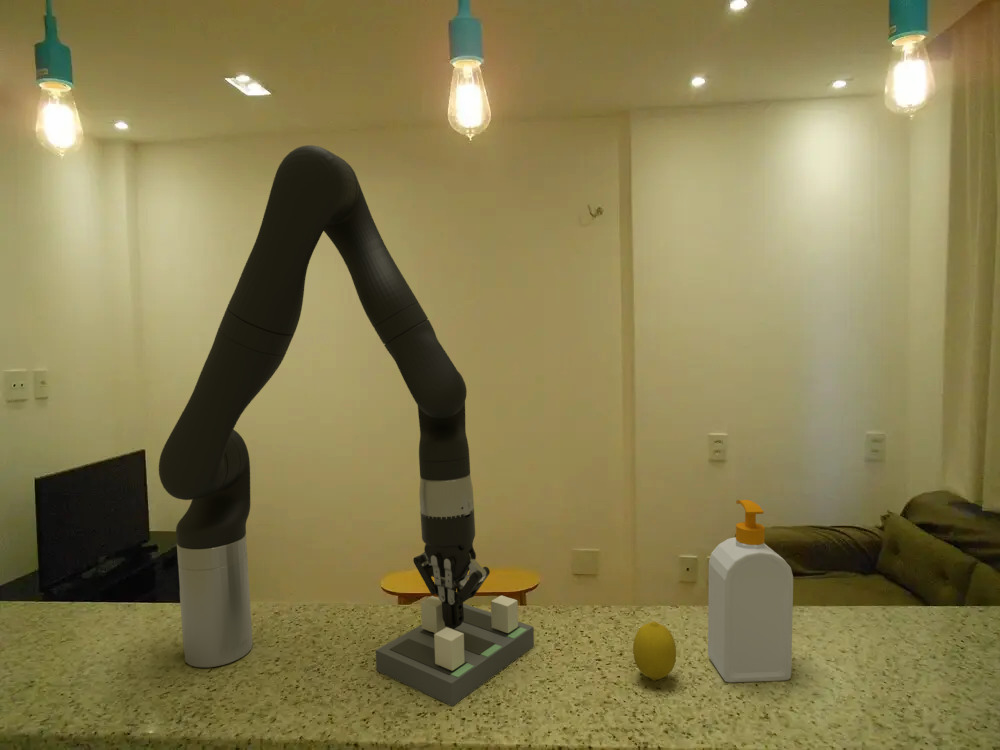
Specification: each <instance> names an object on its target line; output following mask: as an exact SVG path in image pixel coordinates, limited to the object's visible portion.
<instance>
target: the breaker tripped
mask: <svg viewBox="0 0 1000 750" xmlns="http://www.w3.org/2000/svg"><path fill="white" fill-rule="evenodd" d="M420 613H421V615H420V618H421V621H420V622H421V625H422V628H423V629H425V630H428V631H431V632H433V633H437V632H439V631H441V630H443V629H444V628H446V626H445V623H444V621H443V616H442V602H441V601H440V599H439V597H436V596H434V595H431V596H429V597H427V598H425V599H424V600H422V601H420ZM447 628H448V627H447Z"/></svg>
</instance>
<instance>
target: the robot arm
mask: <svg viewBox="0 0 1000 750" xmlns="http://www.w3.org/2000/svg"><path fill="white" fill-rule="evenodd" d="M275 172H276V173H275V176H274V178H273V182H272V184H271V189H270V191H269V195H268V198H267V202H266V203H267V204H266V207H265V210H264V214H263V217H262V221H261V223H260V224H261V225H260V227H259V230H258V233H257V237H256V240H255V242H254V244H253V247H252V249H251V251H250V253H249V255H248V258H247V261H246V263H245V265H244V267H243V269H242V272H241V273H240V276H239V279H238V282H237V284H236V287H235V288H234V291H233V294H232V296H231V298H230V299H229V302H228V303H227V306H226V309H225V311H224V314H223V317H222V319H221V322H220V323H219V326H218V330H217V332H216V334H215V337H214V340H213V343H212V346H211V348H210V349H209V352H208V354H207V356H206V359H205V362H204V364H203V367H202V369H201V371H200V373H199V375H198V379H197V381H196V384H195V386H194V388H193V391H192V393H191V395H190V397H189V399H188V401H187V403H186V405H185V407H184V410H182V413H181V414H180V416H179V418H178V420H177V421H176V423H175V425H174V427H173V428H172V430H171V432H170V434H169V436H168V438H167V439H166V441H165V443H164V445H163V448H162V450H161V453H160V457H159V459H158V476H159V480H160V483H161V485H162V487H163V489H164V490H165V491H166V492H167V494H169V495H170V496H171V497H173V498H175V499H177V500H182V501H190V500H191V502H190V505H189V507H188V509H187V510H186V511H185V513H184V514H183V516H182V517H181V519H179V521H178V523H177V524H176V527H175V528H176V529H175V539H176V552H177V565H178V581H179V601H180V617H181V619H180V620H181V632H182V644H183V652H184V653H183V654H184V661H185V663H186V664H188V665H189V666H192V667H194V668H195V667H196V668H213V667H220V666H224V665H228V664H231V663H233V662H235V661H237V660H239V659H241V658H243V657H244V656H247V654H248V653H249V652H250V651H251V650H252V648H253V629H252V628H253V627H252V611H251V593H250V579H249V578H250V577H249V563H248V562H249V561H248V546H247V545H248V544H247V527H246V525H247V521H248V517H249V515H250V510H251V462H250V460H251V459H250V454H249V451H248V446H247V444H246V442H245V440H244V439H243V437H242V436H241V434H240V433H239V432H237V430H235V427H236V425H237V423H238V421H239V420H240V417H241V415H242V414H243V412H245V410H246V409H247V408H248V406H249V405H250V404H251V403H252V401H253V400H254V399H255V397H256V396H258V394H259V393H260V391H262V389H264V387H265V386H266V384H268V382H269V381H270V380H271V378H272V377H273V376H274V374H275V373H276V372H277V371H278V368H279V367H280V365H281V364H282V362H283V360H284V359H285V356H286V354H287V352H288V350H289V347H290V344H291V342H292V341H293V338H294V335H295V333H296V330H297V327H298V324H299V322H300V318H301V314H302V310H303V309H302V308H303V304H304V295H305V286H306V285H305V284H306V277H307V272H308V269H309V268H308V267H309V264H310V260H311V258H312V255H313V253H314V251H315V249H316V247H317V246H318V243H319V240H320V238H321V237H322V235H323V233H324V234H325V235H326V236H327V237H328V238H329V240H330V241H331V242H332V244H333V245H334V247H335V248H336V250H337V251H338V253H339V254H340V257H341V258H342V260H343V262H344V264H345V266H346V268H347V270H348V272H349V274H350V277H351V280H352V283H353V285H354V288H355V291H356V294H357V297H358V300H359V302H360V304H361V306H362V308H363V310H364V313H365V314H366V316H367V318H368V320H369V322H370V324H371V326H372V327H373V328H374V331H375V332H376V334H377V335H378V337H379V339H380V341H381V343H382V344H383V345H384V347H385V349H386V351H387V352H388V353H389V355H390V356H391V357H392V358H393V360H394V362H395V364H396V366H397V368H398V371H399V372H400V375H401V376H402V379H403V381H404V384H405V385H406V387H407V389H408V391H409V393H410V394H411V397H412V398H413V400H414V402H415V403H416V405H417V415H418V423H419V434H420V435H419V444H418V463H419V479H420V481H419V492H418V493H419V495H418V496H419V507H420V508H419V509H420V511H419V513H420V528H421V539H422V542H423V543H424V549H423V550H424V552H422V553H421V554H419V555H417V556H414V558H413V564H414V565H415V568H416V569H417V571H418V573H419V575H420V577H421V579H422V580H423V582H424V584H425V585H426V587H427V589H428V591H429V593H430V594H431V596H434V595H436V596H438V598H439V599H440V601H441V602H442V616H443V621H444V623H445V626H446V627H449V628H452V629H455V628H457V627H458V626H460V625H461V624H462V622H463V620H464V611H463V603H465V602H466V601H468V600H469V599H472V598H474V597H475V595H476V594H477V593H478V592H479V589H480V588H481V586H482V585H483V584H484V582H485V581H486V579H487V578H488V576H490V573H491V571H490V569H489V567H488V566H483V567H482V566H481V565H480V564H479V562H478V560H476V559H477V554H476V552H475V548H474V545H473V544H474V540H475V537H476V524H475V523H476V522H475V521H476V519H475V507H474V506H475V503H474V501H475V500H474V489H473V483H472V477H471V462H470V448H469V442H468V438H467V437H468V436H467V433H466V398H467V386H466V382H465V379H464V378H463V376H462V375H461V373H460V372H459V371H458V369H457V367H456V366H455V365H454V362H452V359H450V358H451V357H449V355H448V353H447V352H446V350H445V349H444V347H443V345H442V344H441V343H440V341H439V339H438V337H437V335H436V332H435V330H434V327H433V325H432V322H431V321H430V320H429V318H428V316H427V314H426V313H425V311H424V309H423V308H422V306H421V304H420V302H419V300H418V298H417V297H416V295H415V294H414V292H413V291H412V289H411V287H410V285H409V284H408V282H407V281H406V279H405V277H404V275H403V274H402V272H401V270H400V269H399V267H398V266H397V263H396V262H395V261H394V259H393V257H392V255H391V253H390V251H389V249H388V248H387V246H386V243H385V242H384V240H383V238H382V236H381V234H380V232H379V230H378V228H377V225H376V223H375V221H374V219H373V216H372V214H371V211H370V208H369V206H368V203H367V200H366V198H365V195H364V193H363V190H362V187H361V184H360V183H359V179H358V176H357V174H356V172H355V171H354V169H353V167H352V166H351V165H350V164H349V163H348V162H347V161H346V160H345V159H343V158H342V157H340V156H339V155H336V154H335V153H333V152H331V151H330V150H328V149H326V148H324V147H322V146H319V145H312V144H311V145H310V144H309V145H302V146H299V147H296V148H294V149H293V150H292V151H290V152H289V153H288V154H287V155H285V157H283V158H282V161H281V162H280V164H279V165H278V168H277V170H276V171H275ZM432 577H433V578H432Z"/></svg>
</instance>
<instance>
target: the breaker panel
mask: <svg viewBox="0 0 1000 750" xmlns="http://www.w3.org/2000/svg"><path fill="white" fill-rule="evenodd" d="M463 611H464V620H463V622H462V624H461V625H460V626H458V627H457V628H455V629H453V630H456V631H458V632H461V633H464V663H463V664H462V665H460V666H459V667H457V668H456V669H454V670H453V671H451V670H449V669H447V668H444V667H442V666H440V665H437V664H435V643H434V634H436V633H433V632H431V631H428V630H425V629H423V628H422V624H420V625H419V626H417V627H415V628H413V629H412V630H409V631H407V632H406V633H404V634H402V635H401V636H398V637H397V638H395V639H392V640H391V641H390V642H388V643H386V644H384V645H381V647H378V648H377V649H375V667H376V671H377V672H378V673H380V672H381V673H380V674H382V675H384V676H386V675H387V676H386V677H389V678H391V679H393V678H394V679H393V680H395V679H396V680H395V681H397V680H398V681H397V682H399V681H400V682H399V683H401V684H404V685H405V686H407V687H410V688H413V689H414V690H417V691H418V692H421V693H423V694H425V695H427V696H430V697H432V698H434V699H436V700H439V701H440V702H443V703H444V704H446V705H449V706H451V707H453V706H455V705H456V704H457V703H460V702H461V700H463V699H464V698H465V697H467V696H468V695H470V694H472V692H474V691H476V690H477V689H478V688H479V687H480V686H482V685H483V684H484V683H486V682H488V681H489V680H490V679H492V678H493V677H494V676H495V675H497V674H498V673H500V672H501V671H502V670H503V669H505V668H506V667H508V666H509V665H511V664H512V663H513V662H515V661H516V660H517V659H519V658H521V656H523V655H524V654H525V653H527V652H528V651H530V650H531V649H532V648H534V647H535V638H534V637H535V635H534V631H535V630H534V629H535V628H534V626H532V625H529V624H527V623H523V622H520V621H518V627H517V628H515V629H514V630H512V631H511V632H510V633H506V632H503V631H500V630H497V629H494V628H492V619H491V612H490V611H488V610H485V609H481V608H478V607H476V606H473V605H469V604H467V603H465V602H463ZM448 628H449V627H448ZM450 629H452V628H450Z"/></svg>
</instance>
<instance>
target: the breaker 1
mask: <svg viewBox="0 0 1000 750" xmlns="http://www.w3.org/2000/svg"><path fill="white" fill-rule="evenodd" d="M434 643H435V664H437V665H440V666H442V667H444V668H447V669H449V670H451V671H453V670H454V669H456V668H457V667H459V666H460V665H462V664H463V663H464V633H461V632H458V631H456V630H453V629H450V628H447V627H446V628H444V629H443V630H441V631H439V632H437V633H436V634H434Z"/></svg>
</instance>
